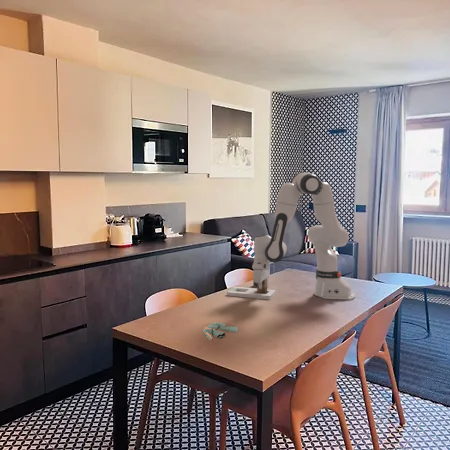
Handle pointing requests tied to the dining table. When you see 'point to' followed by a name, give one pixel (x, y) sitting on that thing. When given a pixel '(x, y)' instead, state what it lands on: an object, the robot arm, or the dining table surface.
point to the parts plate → (250, 293)
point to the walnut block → (264, 289)
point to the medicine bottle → (267, 282)
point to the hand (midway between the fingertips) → (262, 287)
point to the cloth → (221, 327)
